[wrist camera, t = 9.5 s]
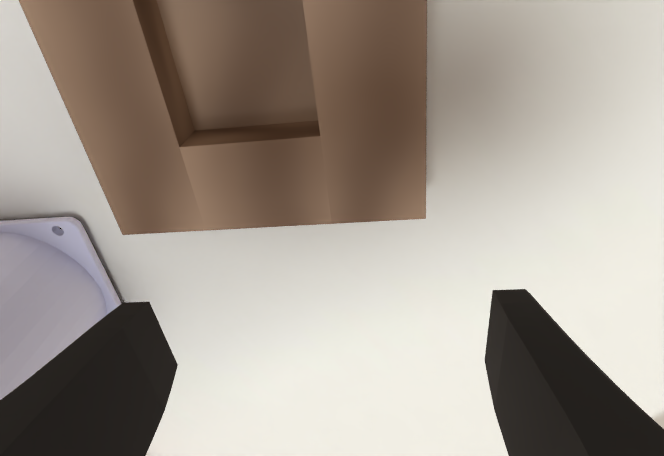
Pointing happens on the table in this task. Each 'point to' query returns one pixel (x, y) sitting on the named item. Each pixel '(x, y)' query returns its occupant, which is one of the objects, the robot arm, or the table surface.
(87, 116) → the pocket block
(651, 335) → the table surface
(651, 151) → the table surface
